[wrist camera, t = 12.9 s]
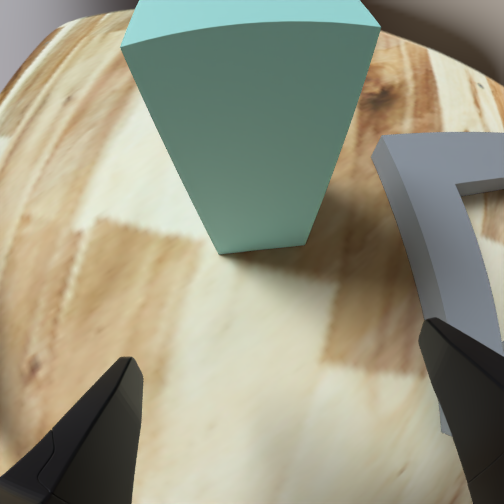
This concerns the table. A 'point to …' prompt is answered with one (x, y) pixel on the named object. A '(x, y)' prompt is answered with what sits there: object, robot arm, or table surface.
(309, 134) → the teal peg
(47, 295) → the table surface
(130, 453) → the robot arm
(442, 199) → the collar board
